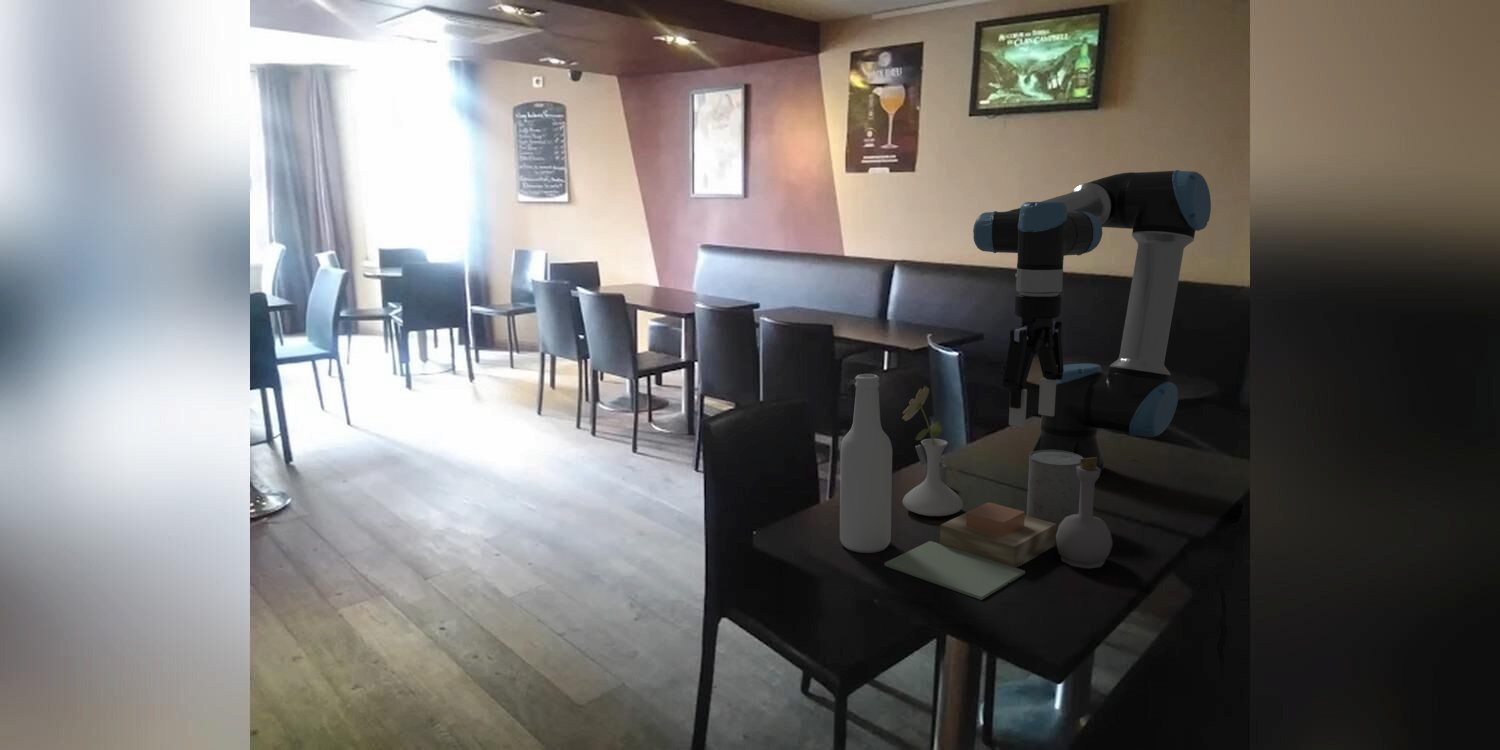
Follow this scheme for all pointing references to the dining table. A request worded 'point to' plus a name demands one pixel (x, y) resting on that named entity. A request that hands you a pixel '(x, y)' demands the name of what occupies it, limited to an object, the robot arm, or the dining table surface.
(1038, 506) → the white cylinder
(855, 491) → the alcohol
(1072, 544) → the potion bottle
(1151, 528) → the dining table surface
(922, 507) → the flower in vase
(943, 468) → the lighter
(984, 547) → the birch board
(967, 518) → the terracotta tile
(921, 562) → the rubber mat
